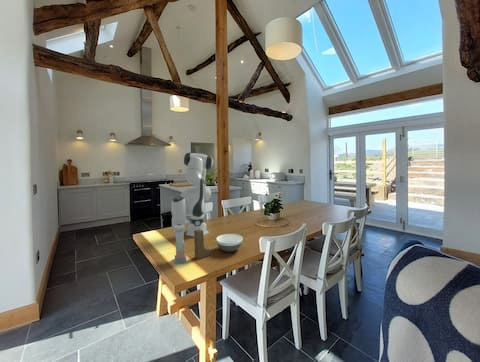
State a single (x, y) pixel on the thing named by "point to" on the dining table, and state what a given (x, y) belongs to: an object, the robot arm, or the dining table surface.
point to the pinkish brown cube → (180, 254)
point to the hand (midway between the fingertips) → (180, 245)
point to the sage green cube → (180, 248)
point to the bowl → (229, 242)
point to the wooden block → (200, 245)
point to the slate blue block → (180, 260)
